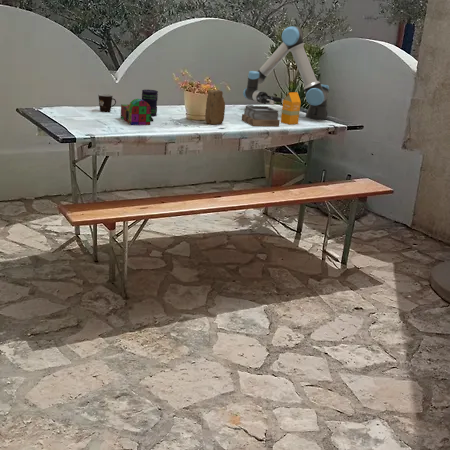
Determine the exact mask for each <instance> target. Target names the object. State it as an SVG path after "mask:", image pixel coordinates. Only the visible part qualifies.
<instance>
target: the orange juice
mask: <svg viewBox="0 0 450 450" xmlns="http://www.w3.org/2000/svg"><path fill="white" fill-rule="evenodd" d="M283 98H284V100H283V103H282V108H281V115H280V124H285V125H298V124H299V120H300V119H299V118H300V112H301V111H300V110H301V105H302V104H301V102H302V101H301V98H300V96H299V93H298V91H294V92H293V91H292V92H291V91H290V92H288V93H287V94H286V95H285V97H283Z"/></svg>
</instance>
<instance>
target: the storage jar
mask: <svg viewBox="0 0 450 450" xmlns="http://www.w3.org/2000/svg"><path fill="white" fill-rule="evenodd" d="M158 93H159V91H158V90H155V89H141V99H142V100H143V101H145V102H147V103H148V104H149V105H150V107H151V117H152V118H154V117H157V115H158V114H157V113H158V107H157V106H158V100H159V99H158V98H159V97H158V95H159V94H158Z"/></svg>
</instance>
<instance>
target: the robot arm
mask: <svg viewBox="0 0 450 450" xmlns="http://www.w3.org/2000/svg"><path fill="white" fill-rule="evenodd" d="M281 40H282V42H281V44H279V46H278V47H277V48H276V50H275V51H274V52H273V53H272V54H271V55H270V56H269V57H268V58H267V59H266V61H265V62H264V63H263V64H262V65H261V66H260V68H259V69H258V70H249V71H248V76H247V84H246V88H244V89H243V92H242V95H243V97H244V98H245V99H247V100H250V101H252V102H253V101H254V102H256V103H260V104H263V105H266V104H268V105H272V106H274V105H275V102H277V103H281V104H283V100H284V98H285V97H278V96H271V95H269V94H268V93H267V92H265V91H263V90H258V89H259V85H260V84H262V83H263V82H265V80H266V79H267V77H268V76H269V75H270V74H271V73H272V71H274V69H275V68H276V67H277V66H279V64H280V63H281V62H282V60H283V59H285V57H286V56H287V55H288V54H289V52H291V55H292V58H293V60H294V62H295V64H296V67H297V70H298V72H299V75H300V77H301V80H302V83H303V85H304V87H303V91H304V93H305V100H306V102H307V104H309V107H308V108H307V111H306V113H305V117H306V118H309V119H312V120H320V119H321V120H322V119H325V120H328V117H329V116H328V110H327V109H328V108H327V106H328V100H329V92H330V86H329V85H328V84H322V83H321V81H318V79H317V77H316V75H315V73H314V69H313V68H312V65H311V63H310V60H309V57H308V55H307V53H306V52H307V51H306V50H305V48H304V46H305V41H304V31H303V30H302V28H301V27H299V26H297V25H296V26H293V25H292V26H287V27H286V28H285V29H284V30H283V31H282V33H281Z"/></svg>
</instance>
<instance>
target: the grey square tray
mask: <svg viewBox="0 0 450 450" xmlns="http://www.w3.org/2000/svg"><path fill="white" fill-rule="evenodd" d="M241 122H244V123H246V124H248V125H250V126H252V127H280V123H281V119H279V110H277V109H274V108H272V107H270V106H265V105H263V106H262V105H245V107H244V113H242V114H241Z"/></svg>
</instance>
